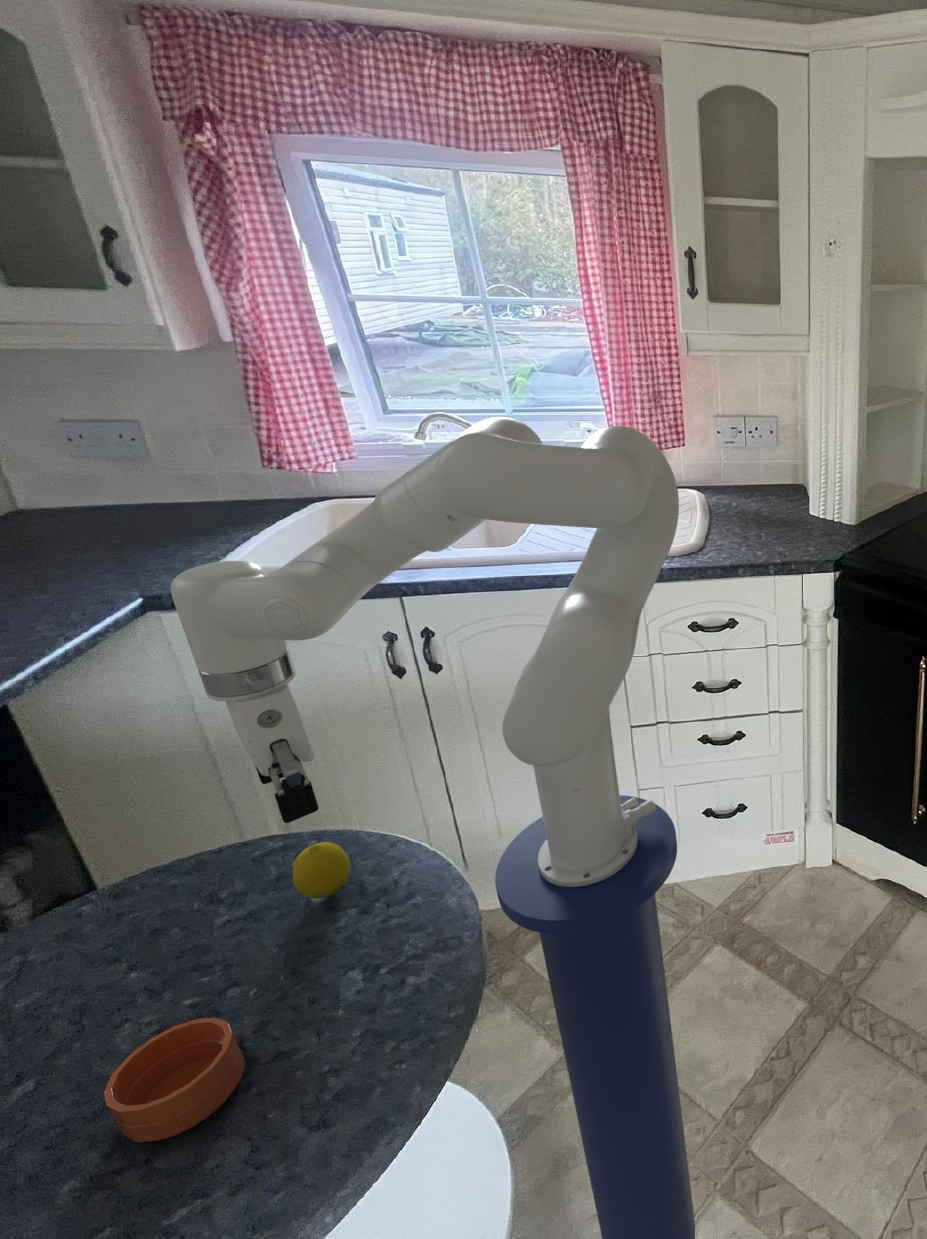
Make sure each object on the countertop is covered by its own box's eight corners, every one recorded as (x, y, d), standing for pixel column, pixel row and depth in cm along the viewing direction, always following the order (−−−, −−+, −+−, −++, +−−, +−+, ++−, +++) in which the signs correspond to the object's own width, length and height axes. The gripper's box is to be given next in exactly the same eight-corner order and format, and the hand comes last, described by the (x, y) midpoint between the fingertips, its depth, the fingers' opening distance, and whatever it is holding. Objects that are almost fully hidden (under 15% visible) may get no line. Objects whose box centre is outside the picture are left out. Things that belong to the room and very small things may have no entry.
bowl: (235, 1034, 76) (220, 1001, 74) (256, 1091, 71) (240, 1056, 69) (118, 1100, 70) (99, 1066, 68) (132, 1168, 65) (111, 1132, 63)
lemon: (366, 887, 94) (350, 839, 91) (317, 919, 89) (299, 869, 86) (342, 871, 96) (326, 823, 93) (293, 901, 92) (275, 851, 89)
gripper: (314, 687, 78) (351, 814, 84) (271, 634, 88) (307, 751, 94) (221, 717, 72) (268, 850, 79) (187, 656, 82) (231, 779, 89)
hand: (289, 796), depth 86 cm, fingers open, 9 cm apart
